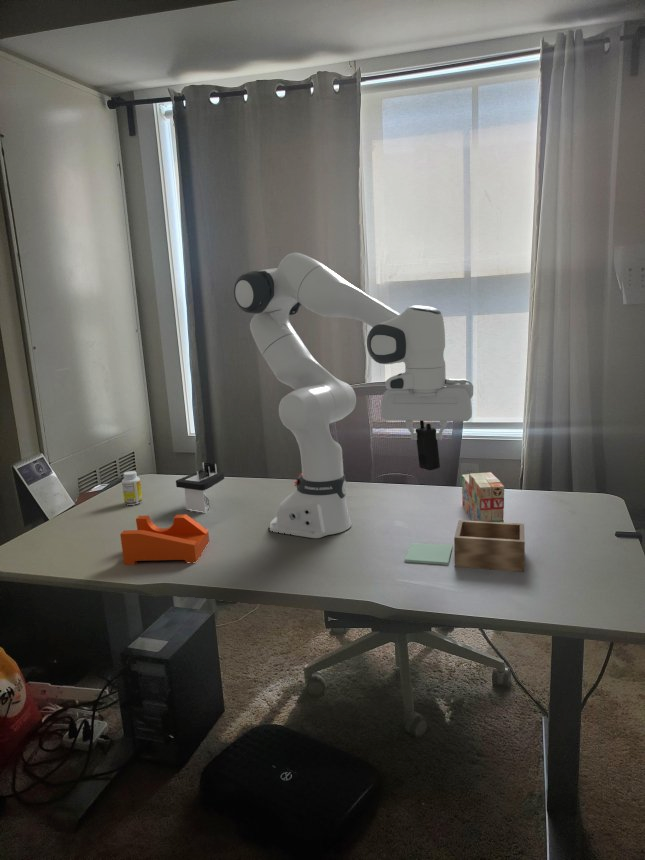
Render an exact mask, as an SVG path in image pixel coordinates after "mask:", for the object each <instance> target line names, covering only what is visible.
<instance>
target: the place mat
mask: <svg viewBox="0 0 645 860" xmlns="http://www.w3.org/2000/svg"><path fill="white" fill-rule="evenodd" d="M452 551H453V545H452V544H438V543H437V544H436V543H422V542H411V543H410V546H409V548H408V550H407V552H406V555H405V557H404V562H405V563H417V564H429V565H430V564H431V565H443V566H449V563H450V559H451V554H452Z"/></svg>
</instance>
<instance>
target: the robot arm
mask: <svg viewBox="0 0 645 860" xmlns="http://www.w3.org/2000/svg"><path fill="white" fill-rule="evenodd" d="M233 297H234V300H235V303H236V305H237V306H238V307H239V309H240V310H241V311H243V312H245V313H249V314H254V315H253V316H252V318H251V320H250V323H249V330H250V333H251V335H252V338H253V341H254V342H255V344H256V346H257V349H258V350H259V352H260V354H261V355H262V358H263V359H264V360H265V363H267V365H268V366H269V368H270V370H271V371H272V373H273V375H274V376H275V378H276V380H277V381H279V382H280V383H282V384H283V385H287V386H288V387H290V388H292V389H294V390H292V391H290V392H289V393H288V394H285V395H284V396H283V397H282V398H281V400H280V402H279V405H278V415H279V419H280V421H281V423H282V424H283V426H284V427H285V428H286V429H288V430H290V432H291V433H292V434H293V436H294V437H295V439H296V442H297V444H298V448H299V453H300V462H301V464H300V465H301V473H300V474H299V475H298V477H297V478H296V479H295V481H294V487H296V489H295V490H294V491H293V492H292V493H290V494H288V496H286V497H285V498H284V499H283V500H282V501H281V502H280V504H279V506H278V508H277V512H276V513H277V514H276V515H277V516H275V517H274V518H272V520H271V521H270V523H269V528H270V529H269V530H270V532H272V531H273V532H272V533H278V532H279V534H284V533H285V534H286V535H290V534H291V535H292V536H297V537H304V538H311V539H320V538H323V537H325V536H329V535H335V534H339V533H340V534H341V533H343V532H346V531H347V530H348V529H350V528H351V527H352V524H353V523H352V520H351V518H350V514H349V510H348V505H347V500H346V494H347V493H346V492H347V481H346V474H344V463H343V461H344V459H343V448H342V446H341V444H340V443H339V442H338V441H336V440H334V438H333V437H332V433H331V428H330V424H333V423H335V422H338V421H341V420H343V419H344V418H346V417H348V415H350V414H351V413H352V412H353V411H354V410H355V408H356V406H357V405H356V404H357V395H356V392H355V390H354V388H353V387H352V386H351V385H350V384H349V383H348V382H345V381H342V380H340V379H338V377H335V376H334V375H333V374H332V373H330V372H329V371H328V370H327V369H326V368H325V367H324V366H322V364H320V363H319V362H318V361H317V360H316V358H315V357H314V356H313V355H312V354H311V352H310V351H309V349H308V348H307V346H306V345H305V344H304V342H303V340H302V339H301V337H300V336H299V334H298V333H297V332H296V330H295V329H294V327H293V325H292V324H291V322H290V317H289V316H293V315H296V313H298V311H299V308H300V307H301V306H303V307H304V308H305V309H307V310H308V311H310V312H312V313H314V314H316V315H318V316H321V317H325V318H338V319H339V318H341V319H343V318H344V319H350V320H356V321H360V322H362V323H365V324H366V325H367V326H370V328H371V329H370V330H369V332H368V334H367V337H366V347H367V349H366V350H367V352H368V354H369V356H370V358H371V359H372V360H373V361H374V362H376V363H378V364H381V365H393V364H398V363H404V367H405V371H404V372H401V373H398V374H396V375H392V376H390V377H389V378H388V379H386V380H385V388H386V390H385V391H384V392H383V394H382V398H381V405H380V409H381V411H380V415H381V418H382V419H383V420H384V421H394V422H395V421H396V422H397V421H403V422H405V426H406V429H408V432H410V440H411V441H413V440H414V441H417V440H418V436H417V435H418V432H416V431H415V430H416V429H415V428H414V427H413V424H414V422H415V421H417V422H420V421H425V422H439V426H441V428H440V430H436V439H437V441H442V440H443V432H444V430H445V428H446V427H447V425H448V422H468V421H469V420H471V418H472V416H473V407H472V405H473V404H472V400H471V399H472V398H473V396H474V385H473V384H472V382H471V381H469V380H467V379H466V378H460V379H458V378H456V379H455V378H446V362H445V361H446V360H445V358H444V354H445V353H444V352H445V348H446V333H445V332H446V331H445V321H444V317H443V314H442V312H441V311H440V310H439V309H438V308H436V307H433V306H429V305H428V306H427V305H420V304H419V305H418V304H417V305H411V306H408V307H407V308H405V310H404V311H403V312H402V313H400V312H398V311H396V309H392V308H391V307H390V306H388V305H386V304H385V303H383V302H382V301H380V300H378V299H376V298H375V297H374V296H372V295H369V294H368V293H366V292H364V291H363V290H361V288H358V287H356V286H355V285H354V284H352V283H350V282H349V281H347V280H346V279H344V278H343V277H342V276H340V275H339V274H337V273H336V272H335V271H334V270H332V269H330V268H329V267H328V266H326V265H325V264H324V263H322V262H320V261H318V260H316V259H315V258H312V257H310V256H308V255H306V254H303V253H301V252H291V253H289V254H287V255H285V257H283V258H282V259H281V261H280V262H279V264H278V266H277V267H273V268H272V267H271V268H267V269H260V270H250V271H248V272H246V273H243V274H241V275H240V276H239V277H237V279H236V281H235V283H234V287H233Z"/></svg>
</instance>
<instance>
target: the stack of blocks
mask: <svg viewBox="0 0 645 860" xmlns="http://www.w3.org/2000/svg"><path fill="white" fill-rule="evenodd" d="M461 486H462V487H461V495H462V497H461V498H462V499H461V500H462V506H463V508H464V509H465V511H466V512H467V514H468V515H469V517H470V518H471V521H484V522H503V523H505V521H504V513H505V512H504V511H505V510H504V509H505V485H503V483H502V482H501V480H500V479H499V478H498V477H496V475H494V474H493V473H492V471H488V472H477V473H476V472H475V473H474V472H472V473H467V474H466V473H465V474H461Z"/></svg>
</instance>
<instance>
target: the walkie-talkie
mask: <svg viewBox="0 0 645 860" xmlns="http://www.w3.org/2000/svg"><path fill="white" fill-rule="evenodd" d="M419 425H420V426H419V427H417V428H415V429H414V430H415V431H416V432H418V435H417V436H418V440H416V449H417V457H418V466H419V468H420V469H423V470H426V471H435V470H437V469H440V467H441V464H440V455H439V453H440V452H439V443H438V440H437V439H436V431H437V429H436V428H435V427H432V426H431V423H427V424H426V425H425V424H424V421H419Z"/></svg>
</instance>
